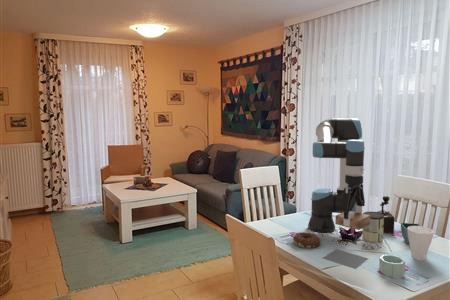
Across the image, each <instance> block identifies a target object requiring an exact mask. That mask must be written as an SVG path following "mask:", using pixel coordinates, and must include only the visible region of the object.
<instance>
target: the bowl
mask: <svg viewBox="0 0 450 300" xmlns="http://www.w3.org/2000/svg"><path fill="white" fill-rule="evenodd" d="M405 265H406V260H405V259H403V258H402V257H401V256H397V255H394V254H382V255H381V256H380V257H379V263H378V270H379V272H381V274H382V275H386V276H387V277H388V278H391V279H402V278H403V277H404V276H405V270H406V269H405V268H406V266H405Z"/></svg>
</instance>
